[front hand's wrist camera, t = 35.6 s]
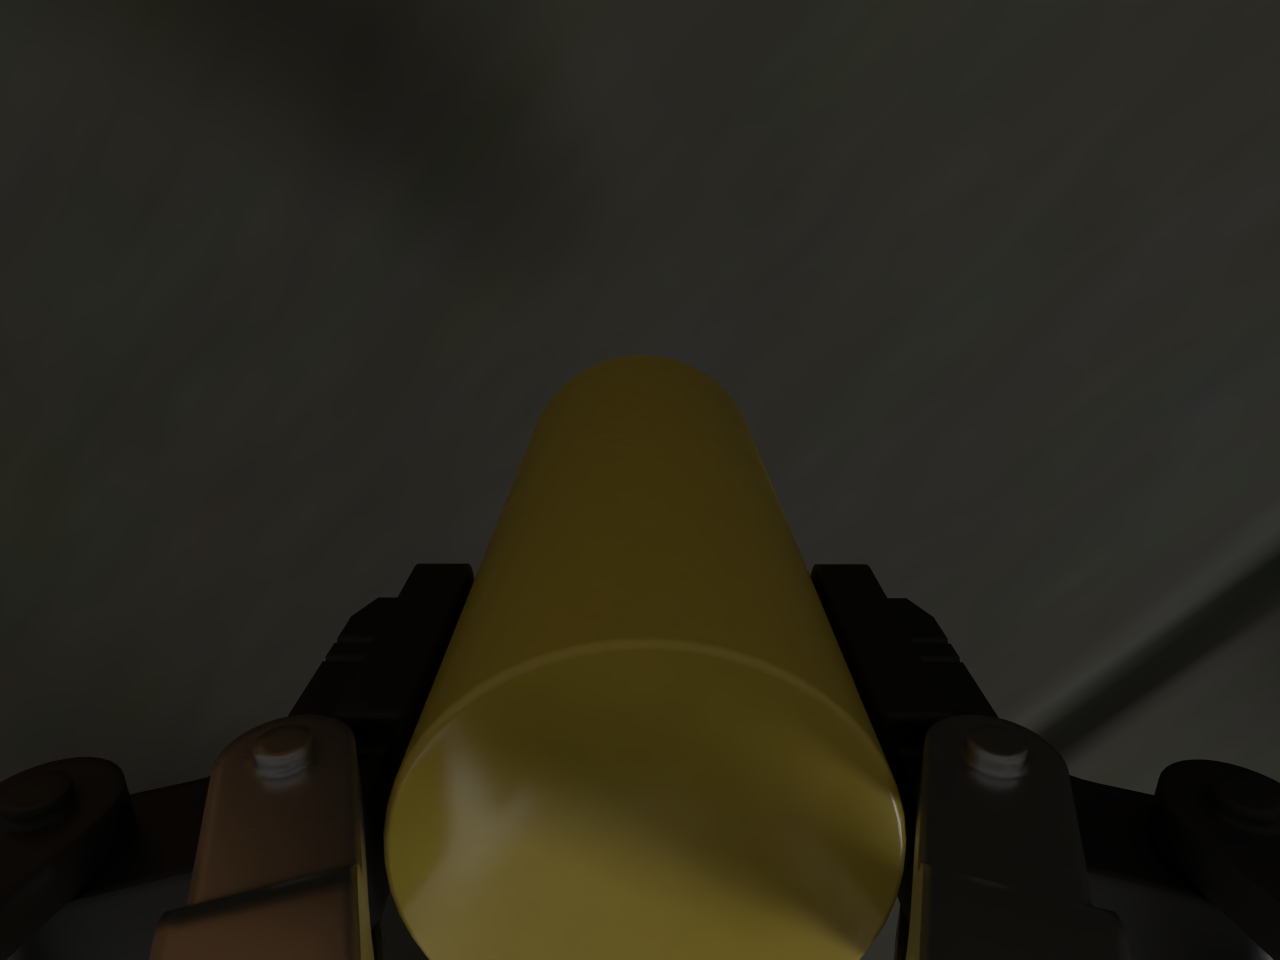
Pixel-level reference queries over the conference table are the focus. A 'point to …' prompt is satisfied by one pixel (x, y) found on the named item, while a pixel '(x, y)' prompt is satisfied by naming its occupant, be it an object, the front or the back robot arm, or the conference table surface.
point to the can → (643, 711)
